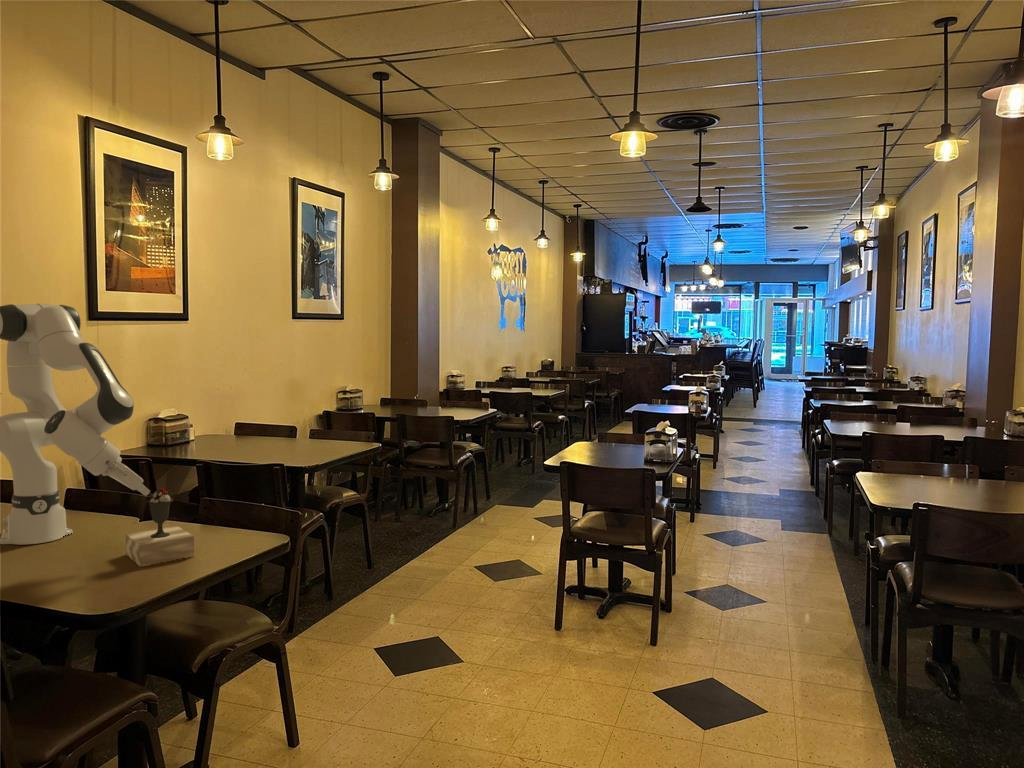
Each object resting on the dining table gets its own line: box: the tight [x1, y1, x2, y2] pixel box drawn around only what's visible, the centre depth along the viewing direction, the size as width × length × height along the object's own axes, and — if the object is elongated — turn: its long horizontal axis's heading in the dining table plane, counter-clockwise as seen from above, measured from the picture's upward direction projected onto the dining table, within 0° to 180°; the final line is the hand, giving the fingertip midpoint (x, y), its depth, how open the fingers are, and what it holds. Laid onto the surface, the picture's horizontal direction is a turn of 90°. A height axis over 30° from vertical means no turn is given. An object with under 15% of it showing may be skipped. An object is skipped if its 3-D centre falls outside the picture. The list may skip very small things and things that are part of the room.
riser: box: [125, 525, 195, 568], centre depth 204 cm, size 14×14×6 cm
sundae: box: [146, 482, 174, 538], centre depth 203 cm, size 7×7×15 cm
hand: (142, 490), depth 200 cm, fingers open, 8 cm apart
